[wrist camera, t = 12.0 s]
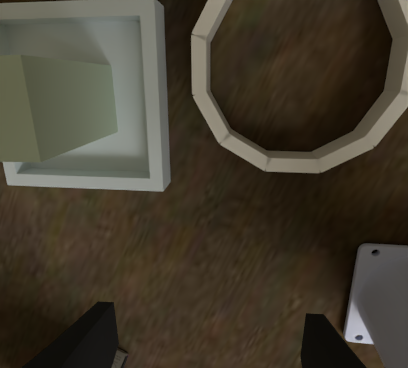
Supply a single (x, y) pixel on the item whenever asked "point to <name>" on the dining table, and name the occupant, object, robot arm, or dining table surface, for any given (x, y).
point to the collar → (332, 152)
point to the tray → (122, 82)
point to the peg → (52, 106)
